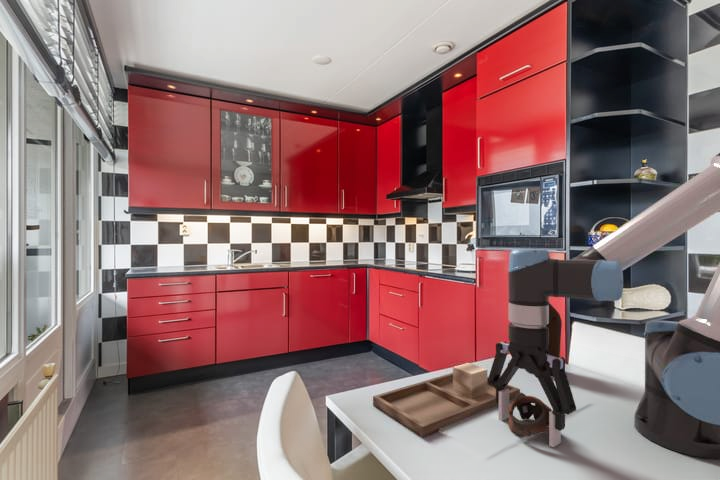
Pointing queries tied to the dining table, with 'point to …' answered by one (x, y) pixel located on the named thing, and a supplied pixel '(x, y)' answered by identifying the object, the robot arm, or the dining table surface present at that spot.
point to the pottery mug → (529, 415)
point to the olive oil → (553, 335)
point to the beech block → (470, 380)
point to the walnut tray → (434, 404)
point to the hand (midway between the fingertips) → (527, 431)
